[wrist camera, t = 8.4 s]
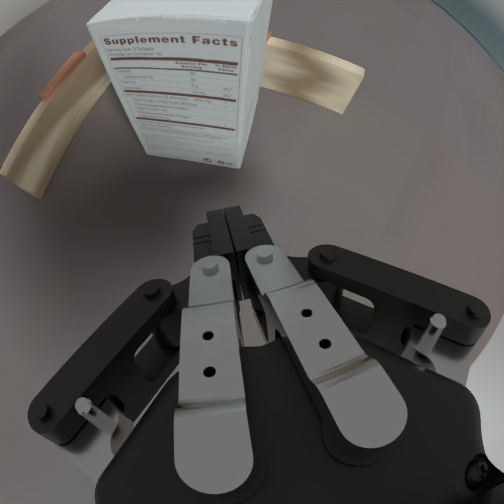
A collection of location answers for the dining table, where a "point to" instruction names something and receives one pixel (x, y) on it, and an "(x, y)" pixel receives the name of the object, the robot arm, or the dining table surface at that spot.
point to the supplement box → (186, 72)
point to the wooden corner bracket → (97, 80)
